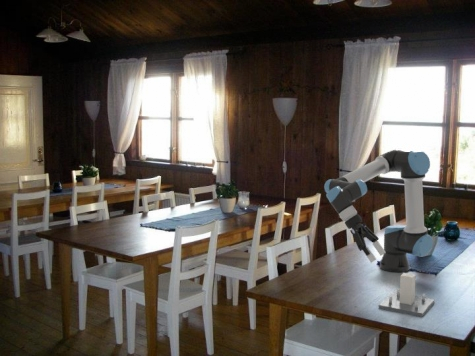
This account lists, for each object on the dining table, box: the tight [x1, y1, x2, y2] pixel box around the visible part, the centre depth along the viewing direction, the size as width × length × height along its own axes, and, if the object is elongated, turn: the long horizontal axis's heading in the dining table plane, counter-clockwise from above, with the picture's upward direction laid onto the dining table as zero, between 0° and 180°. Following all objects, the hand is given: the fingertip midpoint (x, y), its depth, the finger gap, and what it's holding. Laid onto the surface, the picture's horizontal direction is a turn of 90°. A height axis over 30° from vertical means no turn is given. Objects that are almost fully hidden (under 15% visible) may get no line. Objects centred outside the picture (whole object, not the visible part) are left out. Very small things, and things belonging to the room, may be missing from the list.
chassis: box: [378, 288, 435, 318], centre depth 232 cm, size 20×18×4 cm
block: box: [399, 272, 417, 305], centre depth 231 cm, size 5×5×12 cm
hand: (378, 257), depth 239 cm, fingers open, 13 cm apart
